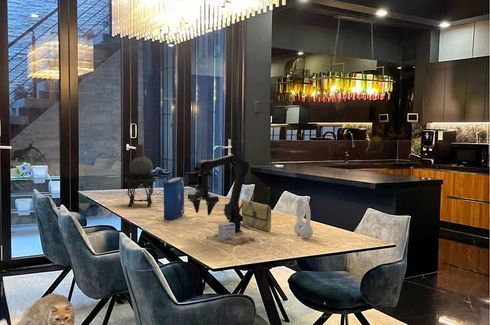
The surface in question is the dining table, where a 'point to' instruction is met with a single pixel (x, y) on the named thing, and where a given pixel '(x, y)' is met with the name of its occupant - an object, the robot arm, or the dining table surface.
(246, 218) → the clutch purse
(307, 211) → the headphones
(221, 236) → the medicine box
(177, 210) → the book
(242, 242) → the block
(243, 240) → the offcut top
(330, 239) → the dining table surface
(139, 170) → the brazier
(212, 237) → the light wood flat frame
